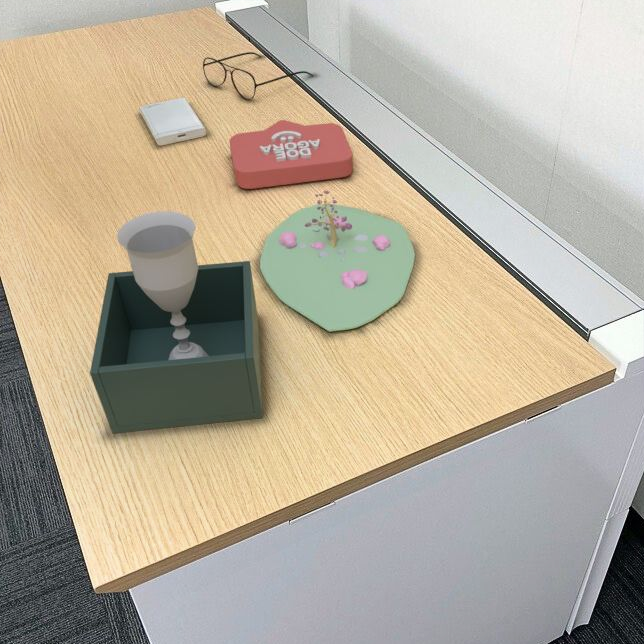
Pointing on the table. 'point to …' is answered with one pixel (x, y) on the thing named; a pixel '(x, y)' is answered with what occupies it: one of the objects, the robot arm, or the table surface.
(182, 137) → the hard drive
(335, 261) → the plant
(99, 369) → the tub
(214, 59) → the glasses
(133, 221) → the chalice
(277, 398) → the table surface
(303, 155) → the plaque
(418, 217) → the table surface
